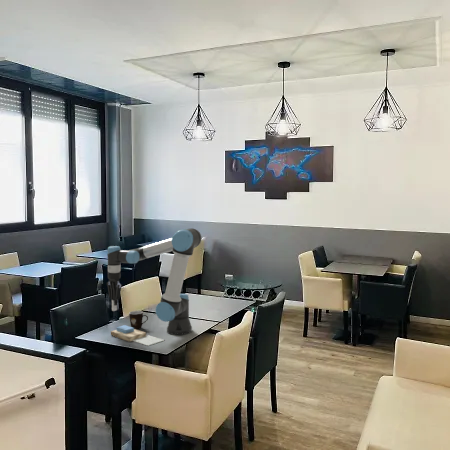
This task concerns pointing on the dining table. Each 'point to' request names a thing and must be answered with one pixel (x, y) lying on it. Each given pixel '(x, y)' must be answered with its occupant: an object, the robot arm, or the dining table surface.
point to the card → (125, 329)
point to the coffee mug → (136, 319)
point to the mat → (148, 340)
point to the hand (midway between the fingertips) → (114, 310)
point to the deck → (129, 335)
